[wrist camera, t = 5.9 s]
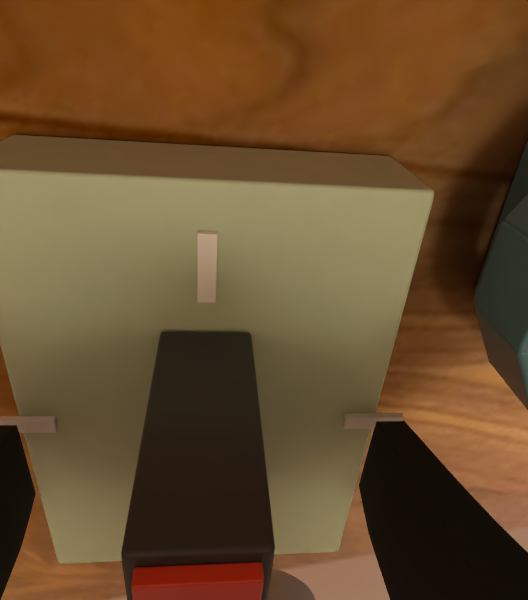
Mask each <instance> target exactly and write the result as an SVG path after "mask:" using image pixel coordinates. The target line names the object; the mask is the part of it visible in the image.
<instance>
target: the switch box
mask: <svg viewBox="0 0 528 600" xmlns="http://www.w3.org/2000/svg"><path fill="white" fill-rule="evenodd" d="M474 296H475V297H474V308H475V312H476V316H477V319H478V323H479V326H480V330H481V334H482V337H483V341H484V344H485V348H486V352H487V355H488V359H489V362H490V363H491V364H492V365H493V367H494V368H495V369H496V371H497V372H498V373H499V374H500V376H501V377H502V378H503V379H504V381H505V382H506V383H507V384H508V386H509V387H510V388H511V390H512V391H513V392H514V393H515V395H516V396H517V397H518V398H519V400H520V401H521V402H522V403H523V405H524V406H525V407H526V408H527V410H528V140H527V143H526V146H525V148H524V151H523V154H522V157H521V160H520V163H519V165H518V168H517V171H516V174H515V177H514V180H513V182H512V185H511V188H510V191H509V194H508V197H507V199H506V202H505V205H504V208H503V211H502V214H501V216H500V219H499V222H498V225H497V228H496V230H495V233H494V236H493V239H492V242H491V245H490V247H489V250H488V253H487V256H486V259H485V262H484V264H483V267H482V270H481V273H480V276H479V279H478V281H477V284H476V287H475V290H474Z"/></svg>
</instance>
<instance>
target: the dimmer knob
mask: <svg viewBox="0 0 528 600" xmlns="http://www.w3.org/2000/svg"><path fill="white" fill-rule="evenodd" d="M274 551H275V542H274V533H273V524H272V515H271V506H270V497H269V488H268V479H267V470H266V461H265V452H264V443H263V434H262V425H261V416H260V407H259V398H258V389H257V380H256V371H255V362H254V353H253V344H252V336H251V334H250V333H236V332H162V333H161V334H160V337H159V343H158V349H157V354H156V360H155V365H154V371H153V377H152V382H151V388H150V394H149V399H148V405H147V410H146V416H145V422H144V427H143V433H142V438H141V444H140V450H139V455H138V461H137V466H136V472H135V478H134V483H133V489H132V495H131V500H130V506H129V511H128V517H127V523H126V528H125V534H124V539H123V545H122V551H121V558H122V565H123V572H124V579H125V586H126V594H127V600H267V598H268V591H269V584H270V578H271V571H272V565H273V558H274Z"/></svg>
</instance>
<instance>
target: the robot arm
mask: <svg viewBox="0 0 528 600" xmlns="http://www.w3.org/2000/svg"><path fill="white" fill-rule="evenodd" d="M359 488H360V493H361V498H362V503H363V508H364V513H365V518H366V522H367V527H368V531H369V535H370V539H371V542H372V545H373V548H374V551H375V554H376V557H377V560H378V564H379V567H380V569H381V573H382V576H383V579H384V582H385V585H386V588H387V591H388V594H389V597H390V600H528V552H526V551H525V550H524V549H523V548H522V547H521V546H520V545H519V544H518V543H517V542H516V541H515V540H514V539H513V538H512V537H511V536H510V535H509V534H508V533H507V532H506V531H505V530H504V529H503V528H502V527H501V526H500V525H499V524H498V523H497V522H496V521H495V520H494V519H493V518H492V517H491V516H490V515H489V514H488V513H487V511H486V510H485V509H484V508H483V507H482V506H481V505H480V504H479V503H478V502H477V501H476V500H475V499H474V498H473V497H472V496H471V495H470V494H469V492H468V491H467V490H466V489H465V488H464V487H463V486H462V485H461V484H460V483H459V482H458V481H457V479H456V478H455V477H454V476H453V475H452V474H451V473H450V472H449V471H448V469H447V468H446V467H445V466H444V465H443V464H442V463H441V462H440V461H439V459H438V458H437V457H436V456H435V455H434V454H433V453H432V452H431V450H430V449H429V448H428V447H427V446H426V445H425V444H424V443H423V441H422V440H421V439H420V438H419V437H418V436H417V435H416V434H415V433H414V431H413V430H412V429H411V428H410V427H409V426H408V425H407V424H406V422H405V421H376V425H375V428H374V432H373V436H372V439H371V443H370V447H369V450H368V454H367V458H366V461H365V465H364V469H363V472H362V476H361V480H360V483H359ZM34 498H35V490H34V486H33V483H32V479H31V475H30V472H29V468H28V464H27V461H26V457H25V453H24V450H23V446H22V442H21V439H20V435H19V431H18V428H17V425H0V600H1V597H2V595H3V592H4V590H5V587H6V584H7V582H8V579H9V577H10V574H11V572H12V569H13V567H14V564H15V562H16V559H17V556H18V554H19V551H20V549H21V545H22V542H23V539H24V535H25V532H26V528H27V525H28V521H29V517H30V513H31V509H32V505H33V502H34Z"/></svg>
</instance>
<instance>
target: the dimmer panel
mask: <svg viewBox="0 0 528 600" xmlns="http://www.w3.org/2000/svg"><path fill="white" fill-rule="evenodd" d="M433 199H434V190H432V189H431V188H430V187H429V186H427V185H426V184H425V183H424V182H422V181H421V180H420V179H419V178H417V177H416V176H415V175H413V174H412V173H411V172H410V171H408V170H407V169H406V168H405V167H403V166H402V165H401V164H400V163H398V162H397V161H396V160H395V159H393V158H392V157H390V156H381V155H363V154H345V153H328V152H310V151H292V150H275V149H257V148H239V147H222V146H204V145H186V144H169V143H151V142H133V141H115V140H98V139H80V138H62V137H45V136H27V135H12V136H10V137H8V138H6V139H4V140H3V141H1V142H0V346H1V350H2V353H3V357H4V361H5V365H6V368H7V372H8V376H9V380H10V383H11V387H12V391H13V395H14V398H15V402H16V406H17V410H18V413H19V416H0V425H17V428H18V431H19V433H24V436H25V440H26V443H27V447H28V451H29V455H30V458H31V462H32V466H33V470H34V473H35V477H36V481H37V485H38V488H39V492H40V496H41V500H42V503H43V507H44V511H45V515H46V518H47V522H48V526H49V530H50V533H51V537H52V541H53V545H54V548H55V552H56V556H57V560H58V563H61V564H64V563H87V562H110V561H122V558H121V551H122V545H123V539H124V534H125V528H126V523H127V517H128V511H129V506H130V500H131V495H132V489H133V483H134V478H135V472H136V466H137V461H138V455H139V450H140V444H141V438H142V433H143V427H144V422H145V416H146V410H147V405H148V399H149V394H150V388H151V382H152V377H153V371H154V365H155V360H156V354H157V349H158V343H159V337H160V334H161V333H162V332H236V333H250V334H251V336H252V344H253V353H254V362H255V371H256V380H257V389H258V398H259V407H260V416H261V425H262V434H263V443H264V452H265V461H266V470H267V479H268V488H269V497H270V506H271V515H272V524H273V533H274V542H275V551H274V554H295V553H318V552H337V551H338V550H339V547H340V543H341V539H342V535H343V532H344V528H345V524H346V521H347V517H348V513H349V510H350V506H351V502H352V498H353V495H354V491H355V487H356V484H357V480H358V476H359V473H360V469H361V465H362V461H363V458H364V454H365V450H366V447H367V443H368V439H369V436H370V432H371V429H374V428H375V425H376V421H403V419H404V417H403V415H402V413H376V410H377V406H378V402H379V399H380V395H381V391H382V387H383V384H384V380H385V376H386V373H387V369H388V365H389V362H390V358H391V354H392V350H393V347H394V343H395V339H396V336H397V332H398V328H399V324H400V321H401V317H402V313H403V310H404V306H405V302H406V299H407V295H408V291H409V287H410V284H411V280H412V276H413V273H414V269H415V265H416V262H417V258H418V254H419V250H420V247H421V243H422V239H423V236H424V232H425V228H426V225H427V221H428V217H429V213H430V210H431V206H432V202H433Z"/></svg>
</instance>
